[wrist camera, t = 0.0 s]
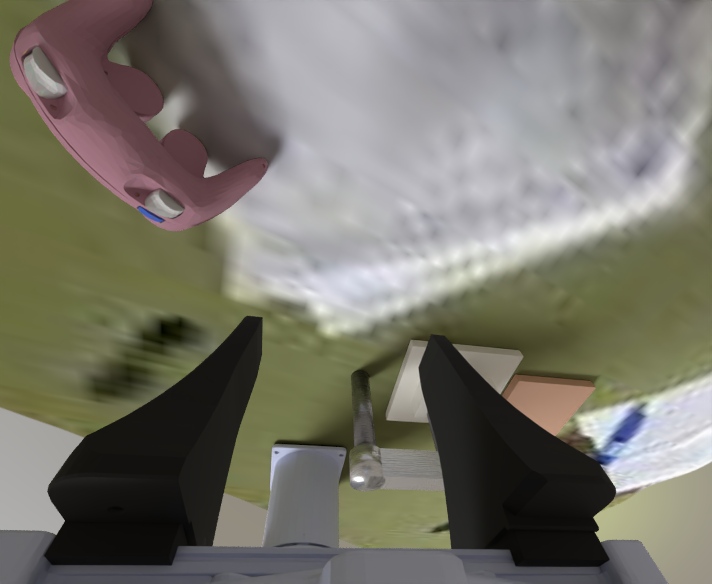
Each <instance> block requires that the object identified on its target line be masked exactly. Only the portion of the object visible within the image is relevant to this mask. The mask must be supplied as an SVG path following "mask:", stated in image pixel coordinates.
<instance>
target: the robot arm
mask: <svg viewBox="0 0 712 584" xmlns="http://www.w3.org/2000/svg"><path fill="white" fill-rule="evenodd" d="M261 356H262V317H254V316H246V317H245V318H244V319H243V320H242V321H241V323H240V324H239V325H238V326H237V327H236V329H235V330H234V331H233V332H232V333H231V334H230V335H229V337H228V338H227V339H226V340H225V341H224V342H223V343H222V344H221V345H220V346H219V347H218V348H217V349H216V350H215V351H214V352H213V353H212V354H211V355H210V356H209V357H208V358H206V359H205V360H204V361H203V362H202V363H201V364H200V365H199V366H198V367H196V368H195V369H194V370H193V371H192V372H190V373H189V374H188V375H187V376H185V377H184V378H183V379H182V380H180V381H179V382H178V383H176V384H175V385H173V386H172V387H171V388H169V389H168V390H166V391H165V392H164V393H162V394H161V395H159V396H158V397H156V398H155V399H153V400H152V401H150V402H148V403H147V404H145V405H143V406H142V407H140V408H138V409H137V410H135V411H133V412H132V413H130V414H128V415H126V416H125V417H123V418H121V419H119V420H117V421H115V422H113V423H111V424H109V425H107V426H105V427H103V428H101V429H99V430H97V431H96V432H94V433H91V434H89V435H87V436H86V437H85V438H84V439H83V440H82V442H81V443H80V444H79V445H78V446H77V447H76V448H75V450H74V451H73V452H72V453H71V455H70V456H69V457H68V459H67V460H66V461H65V463H64V464H63V466H62V467H61V469H60V470H59V472H58V473H57V474H56V476H55V477H54V478H53V480H52V481H51V483H50V484H49V487H48V491H47V492H48V494H49V497H50V499H51V502H52V503H53V504H54V506H55V507H56V509H57V510H58V511H59V513H60V514H61V516H62V517H63V518H64V520H65V522H64V524H63V525H62V527H61V529H60V530H59V532H58V534H57V535H55V534H53V533H50V532H46V531H21V530H19V531H18V530H0V584H668V582H667V581H666V579H665V578H664V576H663V575H662V573H661V572H660V570H659V569H658V567H657V565H656V564H655V562H654V561H653V559H652V558H651V557H650V555H649V553H648V552H647V550H646V549H645V547H644V546H643V544H642V542H640V541H638V540H607V541H603V542H601V543H600V541H599V539H598V537H597V536H596V534H595V532H597V531H598V530H599V527H598V525H597V523H596V522H595V520H594V518H593V517H594V516H595V515H596V514H597V513H599V512H600V511H601V510H602V509H603V508H605V507H606V506H607V505H608V504H609V503H610V502H611V501H612V500H613V499H614V497H615V495H616V488H615V486H614V485H613V483H612V482H611V480H610V479H609V477H608V476H607V474H606V473H605V471H604V470H603V468H602V467H601V465H600V464H599V463H598V462H597V461H595V460H594V459H592V458H590V457H589V456H587V455H585V454H583V453H582V452H580V451H578V450H576V449H575V448H573V447H571V446H569V445H568V444H566V443H565V442H563V441H562V440H560V439H558V438H557V437H555V436H554V435H552V434H551V433H549V432H548V431H546V430H545V429H543V428H542V427H541V426H539V425H538V424H536V423H535V422H534V421H532V420H531V419H530V418H528V417H527V416H526V415H524V414H523V413H522V412H520V411H519V410H518V409H517V408H515V407H514V406H513V405H512V404H511V403H510V402H508V401H507V400H506V399H505V398H504V397H503V396H501V395H500V394H499V393H498V392H497V391H496V390H495V389H494V388H493V387H492V386H491V385H490V384H489V383H488V382H487V381H486V380H485V379H484V378H483V377H482V376H481V375H480V374H479V373H478V372H477V371H476V370H475V369H474V368H473V367H472V366H471V365H470V364H469V363H468V361H467V360H466V359H465V358H464V357H463V356H462V355H461V354H460V352H459V351H458V350H457V349H456V348H455V347H454V346H453V345H452V343H451V342H450V341H449V340H448V339H447V338H446V337H445V336H440V335H431V336H430V339H429V341H428V344H427V347H426V349H425V352H424V354H423V357H422V359H421V362H420V365H419V367H418V369H419V376H420V383H421V389H422V393H423V397H424V400H425V404H426V407H427V411H428V414H429V418H430V421H431V425H432V428H433V432H434V435H435V439H436V443H437V448H438V453H439V459H440V464H441V470H442V476H443V483H444V489H445V496H446V504H447V512H448V520H449V529H450V539H451V549H401V548H339V479H340V475H341V471H342V468H343V464H344V460H345V457H346V448H344V447H328V446H308V445H289V444H274V445H273V447H272V461H271V481H270V490H271V494H270V500H269V506H268V512H267V519H266V525H265V532H264V538H263V544H262V547H214V546H212V545H213V540H214V536H215V531H216V526H217V521H218V516H219V512H220V507H221V503H222V498H223V493H224V489H225V484H226V480H227V476H228V471H229V467H230V463H231V458H232V454H233V450H234V446H235V442H236V438H237V434H238V431H239V427H240V424H241V421H242V418H243V416H244V413H245V410H246V407H247V404H248V401H249V398H250V395H251V393H252V390H253V387H254V384H255V381H256V378H257V374H258V370H259V365H260V361H261Z"/></svg>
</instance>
